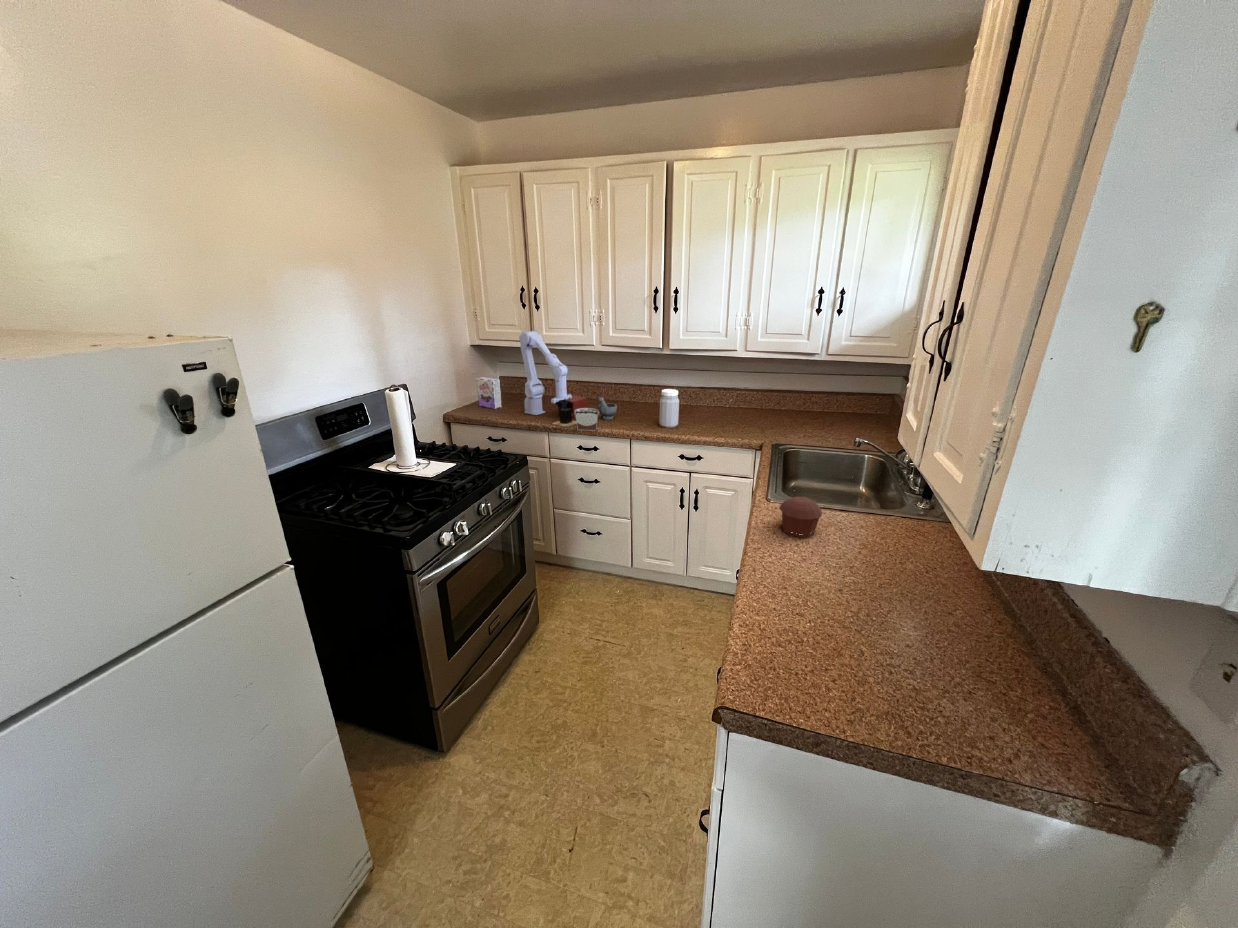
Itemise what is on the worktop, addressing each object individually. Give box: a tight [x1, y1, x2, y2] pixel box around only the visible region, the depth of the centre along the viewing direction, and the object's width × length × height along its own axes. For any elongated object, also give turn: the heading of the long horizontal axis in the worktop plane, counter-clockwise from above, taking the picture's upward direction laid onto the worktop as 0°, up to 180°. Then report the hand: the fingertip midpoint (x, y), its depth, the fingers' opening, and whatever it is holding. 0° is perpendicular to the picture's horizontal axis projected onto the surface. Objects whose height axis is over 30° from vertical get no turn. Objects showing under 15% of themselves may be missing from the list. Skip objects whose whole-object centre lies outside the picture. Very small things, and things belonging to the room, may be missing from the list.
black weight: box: [559, 408, 573, 424], centre depth 245 cm, size 4×4×7 cm
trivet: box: [551, 419, 577, 428], centre depth 247 cm, size 10×10×1 cm
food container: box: [574, 407, 600, 432], centre depth 236 cm, size 12×6×10 cm, turn 84°
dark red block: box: [557, 394, 588, 419], centre depth 262 cm, size 11×12×9 cm
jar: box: [658, 388, 680, 429], centre depth 240 cm, size 10×10×18 cm
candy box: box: [475, 376, 503, 410], centre depth 276 cm, size 14×6×16 cm, turn 55°
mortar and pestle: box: [598, 396, 618, 421], centre depth 254 cm, size 11×9×12 cm
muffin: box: [779, 496, 823, 539], centre depth 140 cm, size 12×11×10 cm
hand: (562, 413), depth 255 cm, fingers closed
